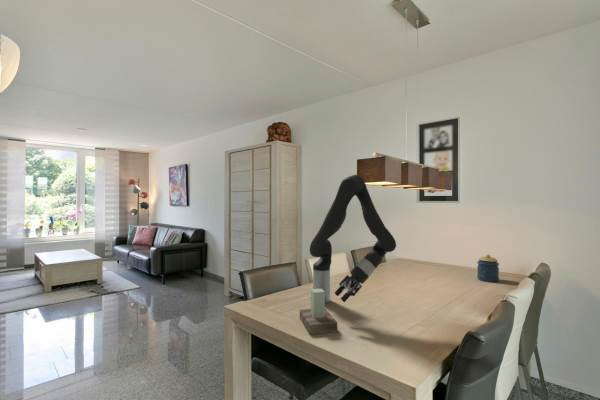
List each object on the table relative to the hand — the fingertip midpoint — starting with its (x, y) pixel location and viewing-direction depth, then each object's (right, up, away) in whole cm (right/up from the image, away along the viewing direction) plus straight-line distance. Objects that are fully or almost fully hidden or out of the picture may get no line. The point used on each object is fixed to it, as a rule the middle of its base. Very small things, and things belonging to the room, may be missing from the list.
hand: (339, 297), depth 138 cm
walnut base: (-10, -11, -2) cm, 15 cm away
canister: (+112, -12, +75) cm, 136 cm away
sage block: (-10, -7, -2) cm, 12 cm away
